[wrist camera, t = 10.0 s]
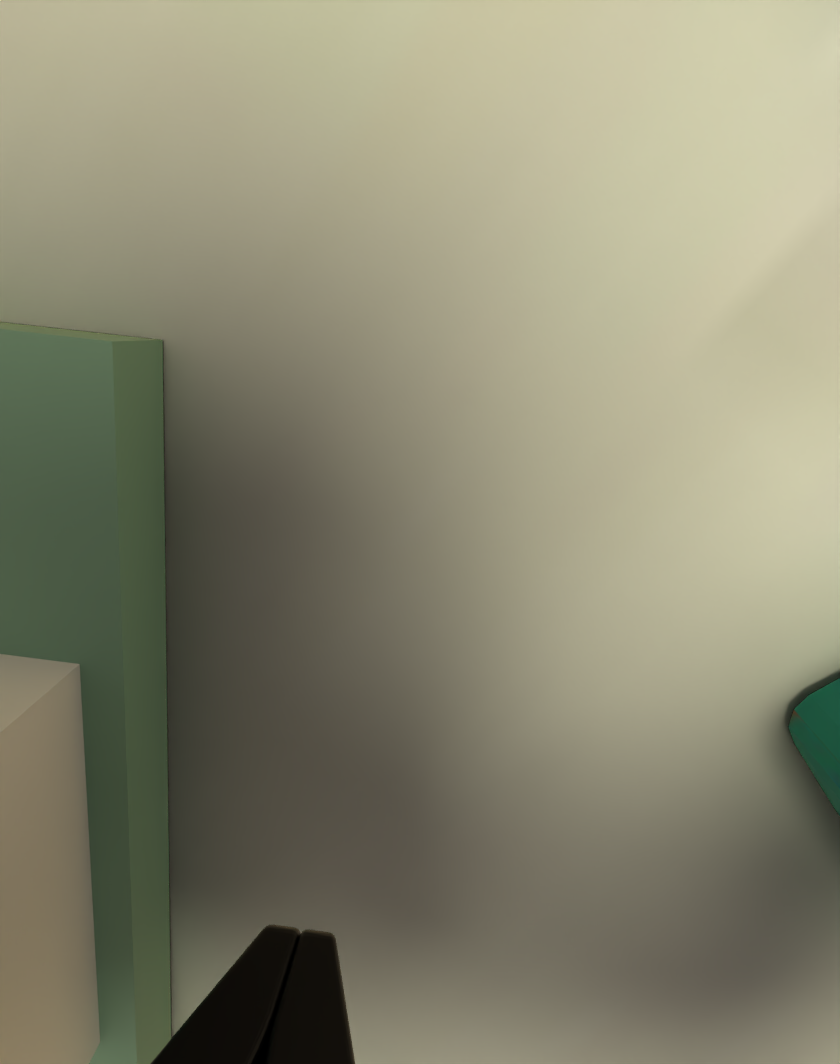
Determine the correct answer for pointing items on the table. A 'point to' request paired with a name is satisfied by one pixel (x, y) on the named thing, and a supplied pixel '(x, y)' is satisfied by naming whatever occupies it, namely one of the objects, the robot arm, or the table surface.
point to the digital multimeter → (820, 737)
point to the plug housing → (45, 869)
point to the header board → (99, 628)
